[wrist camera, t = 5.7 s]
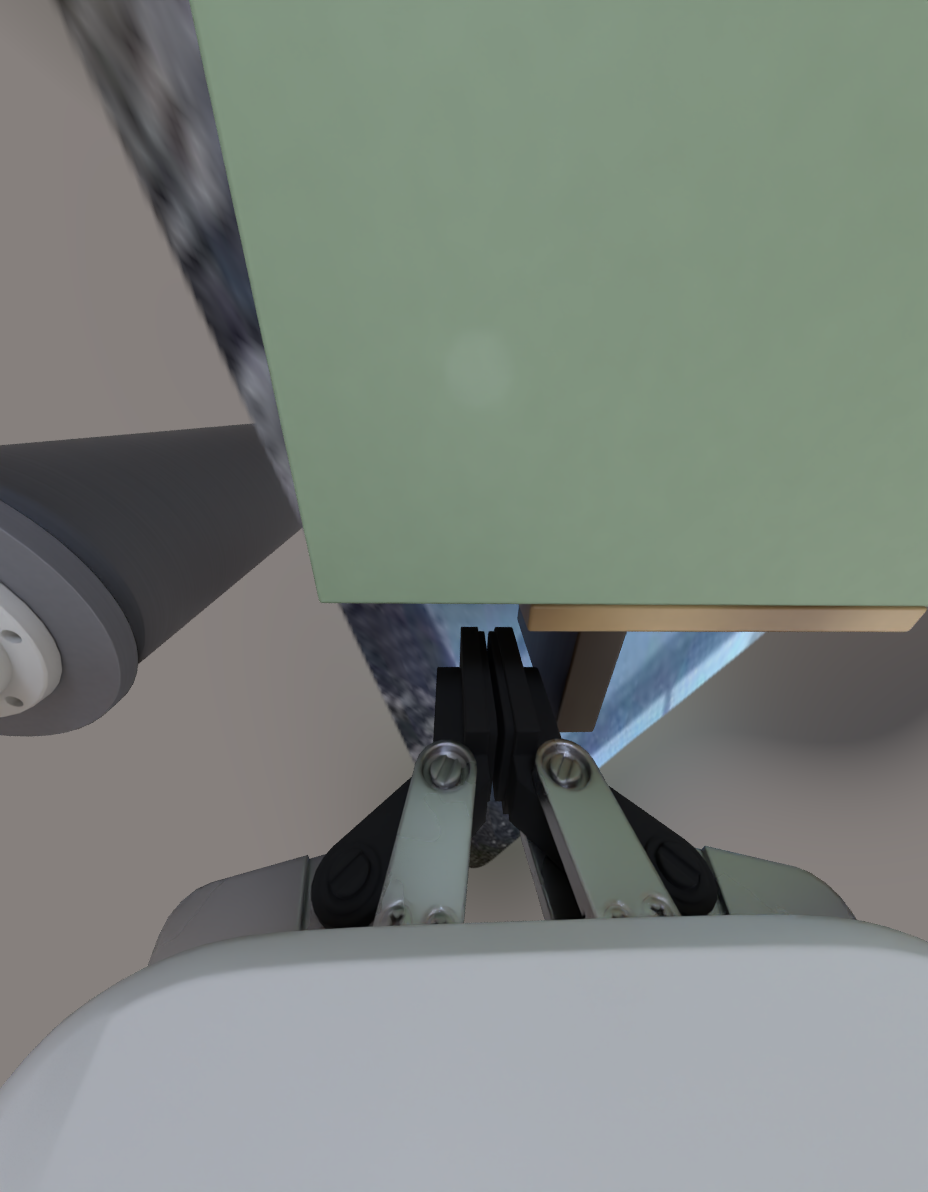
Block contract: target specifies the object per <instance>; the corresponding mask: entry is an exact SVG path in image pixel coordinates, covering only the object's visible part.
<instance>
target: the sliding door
mask: <svg viewBox="0 0 928 1192" xmlns="http://www.w3.org/2000/svg"><path fill="white" fill-rule="evenodd" d="M926 611H927V608H926V607H925V606H790V605H606V604H519V610H518V618H517V620H518V623H519V626H520V629H521V632H522V635H523V638H524V641H525V644H526V647H527V650H528V653H529V656H530V660H531V663H532V666H533V667H537V668H538V670H539V672H540V675H541V678H542V681H543V684H544V687H545V690H546V693H547V696H548V699H549V702H550V705H551V708H552V711H553V714H554V717H555V720H556V723H557V726H558V729H559V732H592V731H593V730H594V727H595V724H596V721H597V718H598V715H599V712H600V709H601V706H602V703H603V700H604V697H605V694H606V691H607V688H608V685H609V682H610V679H611V677H612V674H613V671H614V668H615V665H616V662H617V659H618V656H619V653H620V650H621V647H622V644H623V641H624V638H625V635H626V632H627V631H663V632H906V631H909V630H910V629H911V628H912V627H913V626H914V625H915V623H916V622H917V621H918V620H919V619H920V617H921V616H922V615H923V614H924V613H925V612H926Z"/></svg>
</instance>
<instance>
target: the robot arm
mask: <svg viewBox="0 0 928 1192" xmlns="http://www.w3.org/2000/svg"><path fill="white" fill-rule="evenodd" d="M61 674H62V664H61V656H60V653H59V650H58V648H57V645H56V643H55V640H54V638H53V637H52V635H51V634H50V632H49V631H48V629H47V628H46V626H45V625H44V623H43V622H42V621H41V620H40V618H39V617H38V616H37V615H36V614H35V613H34V612H33V611H32V610H31V609H30V607H29V606H28V605H27V604H26V603H25V602H24V601H22V600H21V599H20V598H19V597H18V596H17V595H15V594H14V593H13V592H12V591H11V590H10V589H9V588H7V587H6V586H5V585H4V584H2V583H1V582H0V717H6V716H10V715H14V714H18V713H21V712H23V711H25V710H27V709H29V708H31V707H33V706H35V705H36V704H37V703H39V702H40V701H41V700H43V699H44V698H45V697H47V696H48V695H49V694H51V693H52V692H53V691H54V689H55V688H56V686H57V685H58V684H59V682H60V678H61ZM492 781H493V790H494V798H495V801H502V808H503V814H509V820H510V822H511V823H512V824H513V825H515V826H516V827H517V828H518V829H519V830H520V835H521V840H522V844H523V847H524V851H525V854H526V857H527V861H528V864H529V867H530V871H531V875H532V878H533V881H534V885H535V888H536V892H537V895H538V898H539V902H540V905H541V909H542V912H543V916H544V919H545V920H543V921H542V920H541V921H513V922H512V921H511V922H484V923H482V922H481V923H464V917H465V906H466V905H465V904H466V893H467V883H468V870H469V859H470V848H471V838H472V837H473V836H474V834H475V833H476V832H477V831H478V830H479V828H480V827H481V826H482V825H483V823H484V822H485V819H486V810H487V802H489V801H490V794H491V786H492ZM0 1192H928V942H927V941H925V940H922V939H920V938H918V937H915V936H912V935H909V934H906V933H903V932H901V931H898V930H894V929H891V928H889V927H885V926H881V925H877V924H873V923H869V922H865V921H859V920H857V919H856V918H855V916H854V915H853V913H852V911H851V910H850V909H849V907H848V906H847V905H846V904H845V902H844V901H843V900H842V898H841V897H840V896H839V895H838V894H837V893H836V892H835V891H834V890H833V889H832V888H831V887H830V886H828V885H827V884H826V883H825V882H824V881H822V880H821V879H819V878H818V877H816V876H814V875H813V874H812V873H810V872H808V871H805V870H802V869H800V868H797V867H794V866H790V865H785V864H781V863H777V862H772V861H768V860H764V859H760V858H755V857H751V856H746V855H742V854H738V853H734V852H730V851H725V850H721V849H716V848H712V847H708V846H704V847H703V849H698V848H694V847H693V846H692V845H691V844H689V843H688V842H687V841H686V840H685V839H683V838H682V837H681V836H679V835H678V834H676V833H675V832H674V831H672V830H671V829H669V828H668V827H666V826H665V825H664V824H662V823H661V822H659V821H658V820H657V819H655V818H654V817H652V816H651V815H649V814H648V813H647V812H645V811H644V810H642V809H641V808H639V807H638V806H637V805H635V804H634V803H632V802H631V801H630V800H628V799H627V798H625V797H624V796H622V795H621V794H619V793H618V792H617V791H615V790H614V789H613V788H611V787H610V786H608V784H607V783H606V781H605V779H604V777H603V776H602V774H601V772H600V770H599V768H598V767H597V765H596V763H595V761H594V760H593V758H592V757H591V756H590V754H589V753H588V752H587V751H586V750H585V749H583V748H582V747H581V746H580V745H578V744H576V743H574V742H572V741H569V740H565V739H561V736H560V733H559V729H558V726H557V723H556V720H555V717H554V714H553V711H552V708H551V705H550V702H549V699H548V696H547V693H546V690H545V687H544V684H543V681H542V678H541V675H540V672H539V670H538V668H537V667H523V664H522V661H521V657H520V653H519V650H518V646H517V642H516V639H515V635H514V632H513V628H512V627H495V629H494V631H489V633H488V643H487V648H486V641H485V634H484V631H478V627H461V641H460V667H438V668H437V683H436V702H435V720H434V738H433V743H431V744H430V745H428V746H427V747H425V748H424V750H423V751H422V752H421V753H420V754H419V756H418V758H417V761H416V763H415V767H414V771H413V775H412V777H411V778H410V779H409V780H407V781H406V782H405V783H404V784H403V785H402V786H401V787H400V788H399V789H397V790H396V791H395V792H394V793H393V794H392V795H391V796H389V797H388V798H387V799H386V800H385V801H384V802H383V803H382V804H381V805H379V806H378V807H377V808H376V809H375V810H374V811H373V812H371V813H370V814H369V815H368V816H367V817H366V818H365V819H364V820H362V821H361V822H360V823H359V824H358V825H357V826H356V827H355V828H354V829H352V830H351V831H350V832H349V833H348V834H347V835H345V836H344V837H343V838H342V839H341V840H340V841H339V842H338V843H336V844H335V845H334V846H333V847H332V848H331V849H330V850H329V851H328V853H327V854H325V855H321V856H318V857H314V858H311V859H309V857H308V855H306V856H303V857H299V858H296V859H293V860H289V861H285V862H282V863H278V864H275V865H271V866H268V867H264V868H261V869H257V870H254V871H250V872H247V873H243V874H240V875H236V876H233V877H229V878H225V879H222V880H218V881H215V882H212V883H209V884H207V885H205V886H203V887H200V888H198V889H196V890H195V891H194V892H192V893H191V894H190V895H189V896H187V897H186V898H185V899H184V900H183V901H181V902H180V904H179V905H178V906H177V908H176V909H175V910H174V911H173V912H172V913H171V915H170V916H169V917H168V919H167V921H166V923H165V925H164V927H163V929H162V930H161V932H160V934H159V937H158V939H157V942H156V945H155V947H154V950H153V953H152V955H151V958H150V961H149V964H148V966H147V967H146V968H143V969H142V970H140V971H138V972H136V973H134V974H132V975H130V976H128V977H127V978H125V979H123V980H121V981H119V982H117V983H116V984H115V985H113V986H111V987H110V988H108V989H107V990H105V991H104V992H102V993H100V994H99V995H97V996H96V997H94V998H92V999H91V1000H89V1001H88V1002H87V1003H85V1004H84V1005H83V1006H81V1007H80V1008H79V1009H77V1010H76V1011H75V1012H74V1013H72V1014H71V1015H70V1016H68V1017H67V1018H66V1019H64V1020H63V1021H62V1022H61V1023H60V1024H59V1025H58V1026H57V1027H55V1028H54V1029H53V1030H52V1031H51V1032H50V1033H49V1034H48V1035H47V1036H46V1037H45V1038H44V1039H43V1040H42V1041H41V1042H40V1043H39V1044H38V1045H37V1046H36V1047H35V1049H33V1051H32V1052H31V1053H30V1054H29V1055H28V1056H27V1057H26V1058H25V1059H24V1060H23V1061H22V1063H21V1064H20V1065H19V1066H18V1067H17V1069H16V1070H15V1071H14V1072H13V1073H12V1075H11V1076H10V1077H9V1079H8V1080H7V1081H6V1082H5V1083H4V1085H3V1086H2V1087H1V1088H0Z"/></svg>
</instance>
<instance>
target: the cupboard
mask: <svg viewBox="0 0 928 1192" xmlns="http://www.w3.org/2000/svg"><path fill="white" fill-rule="evenodd" d="M189 2H190V7H191V12H192V16H193V21H194V25H195V30H196V35H197V39H198V44H199V48H200V53H201V58H202V62H203V67H204V72H205V76H206V81H207V85H208V90H209V95H210V99H211V104H212V109H213V113H214V118H215V122H216V127H217V132H218V136H219V141H220V145H221V150H222V155H223V159H224V164H225V169H226V173H227V178H228V182H229V187H230V192H231V196H232V201H233V205H234V210H235V215H236V219H237V224H238V229H239V233H240V238H241V242H242V247H243V252H244V256H245V261H246V265H247V270H248V275H249V279H250V284H251V289H252V293H253V298H254V302H255V307H256V312H257V316H258V321H259V325H260V330H261V335H262V339H263V344H264V349H265V353H266V358H267V362H268V367H269V372H270V376H271V381H272V385H273V390H274V395H275V399H276V404H277V409H278V413H279V418H280V422H281V427H282V432H283V436H284V441H285V445H286V450H287V455H288V459H289V464H290V469H291V473H292V478H293V482H294V487H295V492H296V496H297V501H298V505H299V510H300V515H301V519H302V524H303V529H304V533H305V538H306V542H307V546H308V552H309V556H310V561H311V565H312V570H313V574H314V579H315V584H316V588H317V593H318V597H319V601H320V602H322V603H421V604H606V605H790V606H928V0H189Z"/></svg>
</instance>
